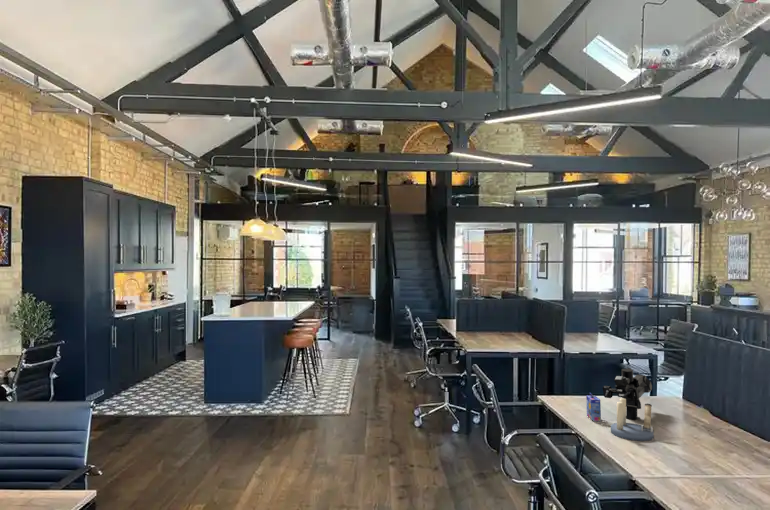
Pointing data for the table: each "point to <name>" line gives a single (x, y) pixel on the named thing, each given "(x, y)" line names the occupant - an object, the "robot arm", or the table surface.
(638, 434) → the round peg stand
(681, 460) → the table surface
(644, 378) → the robot arm
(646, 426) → the hinged leg
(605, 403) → the table surface
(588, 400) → the ink cartridge box
